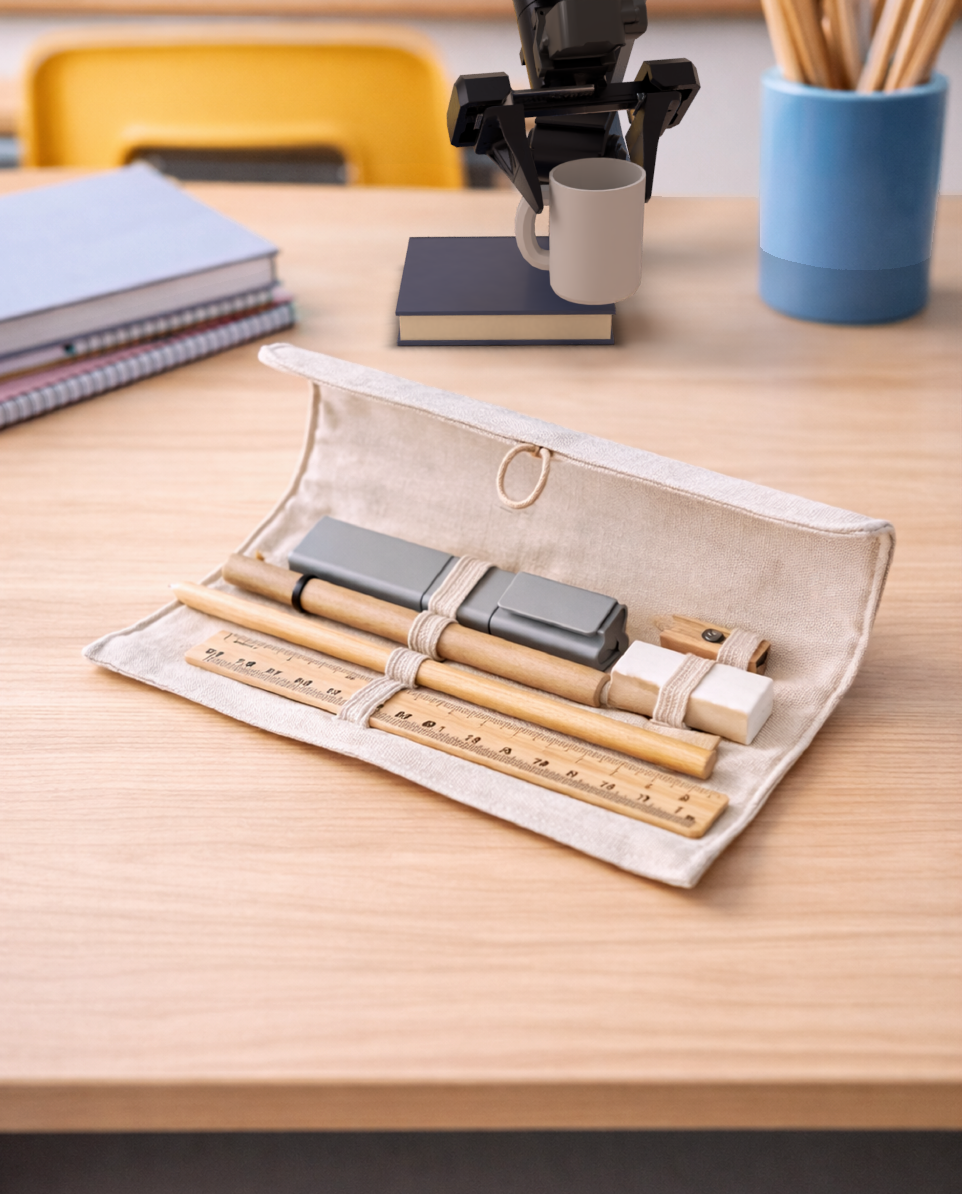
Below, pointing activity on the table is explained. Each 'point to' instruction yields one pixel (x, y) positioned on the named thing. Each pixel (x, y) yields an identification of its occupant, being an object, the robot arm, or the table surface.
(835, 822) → the table surface
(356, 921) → the table surface
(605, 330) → the book
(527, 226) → the cup
